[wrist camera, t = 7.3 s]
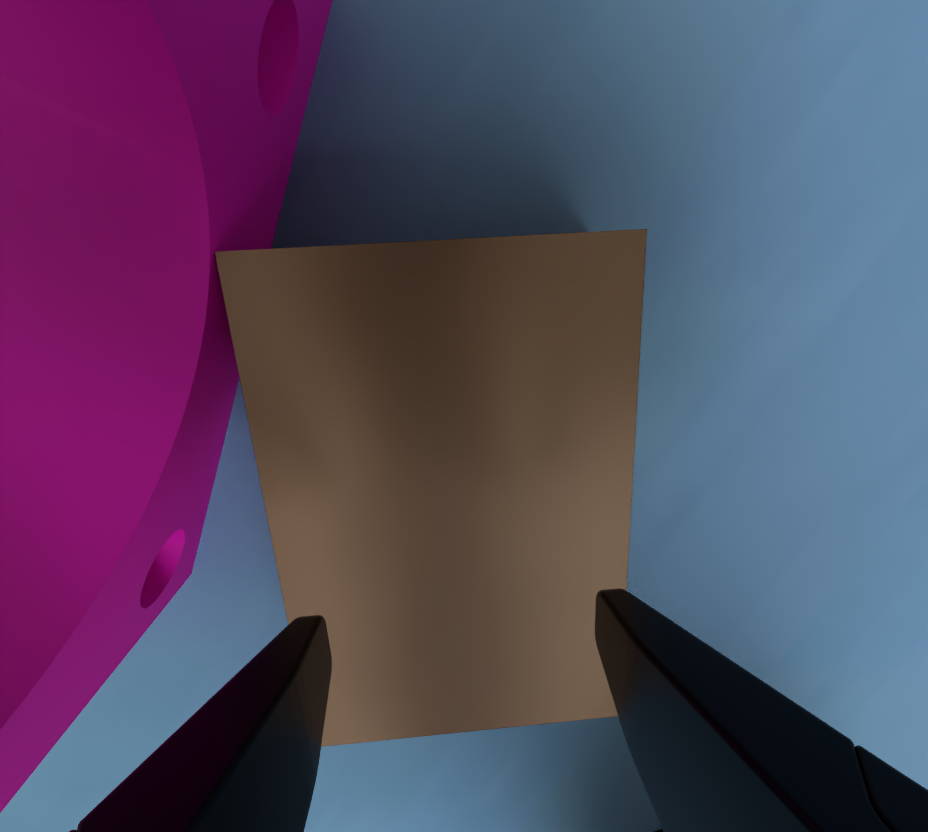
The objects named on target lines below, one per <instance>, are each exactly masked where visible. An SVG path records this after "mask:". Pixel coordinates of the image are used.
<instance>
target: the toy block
mask: <svg viewBox="0 0 928 832" xmlns="http://www.w3.org/2000/svg"><path fill="white" fill-rule="evenodd" d="M331 3H332V0H0V813H1V811H2V810H3V809H4V808H5V806H6V805H7V804H8V803H9V801H10V800H11V799H12V798H13V796H14V795H15V794H16V793H17V791H18V790H19V789H20V788H21V786H22V785H23V784H24V783H25V781H26V780H27V779H28V778H29V776H30V775H31V774H32V773H33V771H34V770H35V769H36V768H37V766H38V765H39V764H40V763H41V761H42V760H43V759H44V757H45V756H46V755H47V754H48V752H49V751H50V750H51V749H52V747H53V746H54V745H55V744H56V742H57V741H58V740H59V739H60V737H61V736H62V735H63V734H64V732H65V731H66V730H67V729H68V727H69V726H70V725H71V724H72V722H73V721H74V720H75V719H76V717H77V716H78V715H79V714H80V712H81V711H82V710H83V709H84V707H85V706H86V705H87V704H88V702H89V701H90V700H91V699H92V697H93V696H94V695H95V694H96V692H97V691H98V690H99V689H100V687H101V686H102V685H103V684H104V682H105V681H106V680H107V679H108V677H109V676H110V675H111V674H112V672H113V671H114V670H115V669H116V667H117V666H118V665H119V664H120V662H121V661H122V660H123V659H124V657H125V656H126V655H127V654H128V652H129V651H130V650H131V649H132V647H133V646H134V645H135V644H136V642H137V641H138V640H139V639H140V637H141V636H142V635H143V634H144V632H145V631H146V630H147V629H148V627H149V626H150V625H151V624H152V622H153V621H154V620H155V619H156V617H157V616H158V615H159V614H160V612H161V611H162V610H163V609H164V607H165V606H166V605H167V604H168V602H169V601H170V600H171V599H172V597H173V596H174V595H175V594H176V592H177V591H178V590H179V589H180V587H181V586H182V585H183V584H184V582H185V581H186V580H187V579H188V577H189V576H190V575H191V573H192V569H193V565H194V561H195V557H196V553H197V549H198V545H199V541H200V537H201V533H202V528H203V524H204V520H205V516H206V512H207V508H208V504H209V500H210V496H211V492H212V488H213V484H214V480H215V476H216V471H217V467H218V463H219V459H220V455H221V451H222V447H223V443H224V439H225V435H226V431H227V427H228V423H229V418H230V414H231V410H232V406H233V402H234V398H235V394H236V390H237V386H238V382H239V378H240V377H239V372H238V367H237V362H236V357H235V351H234V346H233V341H232V336H231V331H230V326H229V321H228V316H227V311H226V306H225V301H224V296H223V291H222V286H221V281H220V275H219V270H218V265H217V260H216V255H215V252H220V251H239V250H258V249H271V247H272V243H273V239H274V235H275V231H276V227H277V223H278V219H279V215H280V211H281V207H282V203H283V198H284V194H285V190H286V186H287V182H288V178H289V174H290V170H291V166H292V162H293V158H294V154H295V150H296V146H297V141H298V137H299V133H300V129H301V125H302V121H303V117H304V113H305V109H306V105H307V101H308V97H309V93H310V88H311V84H312V80H313V76H314V72H315V68H316V64H317V60H318V56H319V52H320V48H321V44H322V40H323V36H324V31H325V27H326V23H327V19H328V15H329V11H330V7H331Z"/></svg>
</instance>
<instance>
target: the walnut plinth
mask: <svg viewBox="0 0 928 832" xmlns="http://www.w3.org/2000/svg"><path fill="white" fill-rule="evenodd" d="M646 236H647V229H638V230H619V231H600V232H581V233H562V234H543V235H524V236H505V237H486V238H467V239H448V240H429V241H410V242H391V243H372V244H353V245H334V246H315V247H296V248H277V249H258V250H239V251H220V252H215V255H216V260H217V265H218V270H219V275H220V281H221V286H222V291H223V296H224V301H225V306H226V311H227V316H228V321H229V326H230V331H231V336H232V341H233V346H234V351H235V357H236V362H237V367H238V372H239V377H240V382H241V387H242V392H243V397H244V402H245V407H246V412H247V417H248V422H249V427H250V433H251V438H252V443H253V448H254V453H255V458H256V463H257V468H258V473H259V478H260V483H261V488H262V493H263V498H264V503H265V508H266V514H267V519H268V524H269V529H270V534H271V539H272V544H273V549H274V554H275V559H276V564H277V569H278V574H279V579H280V584H281V590H282V595H283V600H284V605H285V610H286V615H287V620H288V625H289V624H290V623H291V622H292V621H293V620H294V619H296V618H297V617H301V616H312V615H321V616H323V617H324V619H325V621H326V626H327V632H328V638H329V643H330V649H331V656H332V672H331V680H330V687H329V694H328V701H327V708H326V715H325V722H324V729H323V736H322V743H321V747H322V746H332V745H342V744H351V743H361V742H371V741H381V740H390V739H400V738H410V737H420V736H430V735H439V734H449V733H459V732H469V731H478V730H488V729H498V728H508V727H517V726H527V725H537V724H547V723H557V722H566V721H576V720H586V719H596V718H605V717H615V716H618V713H617V710H616V707H615V704H614V701H613V697H612V694H611V691H610V688H609V684H608V681H607V678H606V675H605V672H604V668H603V665H602V662H601V659H600V655H599V652H598V649H597V645H596V640H595V606H596V595H597V593H598V592H599V591H600V590H605V589H616V588H621V589H624V590H627V572H628V555H629V537H630V519H631V502H632V484H633V466H634V449H635V431H636V413H637V396H638V378H639V360H640V343H641V325H642V307H643V290H644V272H645V254H646Z"/></svg>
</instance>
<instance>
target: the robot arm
mask: <svg viewBox="0 0 928 832" xmlns="http://www.w3.org/2000/svg"><path fill="white" fill-rule="evenodd" d="M595 640H596V645H597V649H598V652H599V655H600V659H601V662H602V665H603V668H604V672H605V675H606V678H607V681H608V684H609V688H610V691H611V694H612V697H613V701H614V704H615V707H616V710H617V713H618V717H619V720H620V723H621V726H622V730H623V733H624V736H625V739H626V742H627V745H628V747H629V750H630V752H631V755H632V758H633V760H634V763H635V765H636V767H637V770H638V772H639V775H640V777H641V779H642V782H643V784H644V786H645V789H646V791H647V793H648V796H649V798H650V801H651V803H652V805H653V808H654V810H655V812H656V815H657V817H658V820H659V822H660V824H661V827H662V830H657V831H655V832H928V790H927V789H926V788H924V787H922V786H921V785H919V784H918V783H916V782H915V781H913V780H912V779H910V778H908V777H907V776H905V775H904V774H902V773H901V772H899V771H898V770H896V769H895V768H893V767H892V766H890V765H889V764H887V763H886V762H884V761H882V760H881V759H879V758H878V757H876V756H875V755H873V754H872V753H870V752H869V751H867V750H866V749H864V748H863V747H861V746H855V747H854V744H853V742H852V741H851V740H850V739H849V738H847V737H846V736H844V735H843V734H841V733H840V732H838V731H837V730H835V729H834V728H832V727H831V726H829V725H828V724H826V723H825V722H823V721H822V720H820V719H819V718H817V717H816V716H814V715H813V714H811V713H810V712H808V711H807V710H805V709H804V708H802V707H801V706H799V705H798V704H796V703H795V702H793V701H792V700H790V699H789V698H787V697H786V696H784V695H783V694H781V693H780V692H778V691H777V690H775V689H774V688H772V687H771V686H769V685H768V684H766V683H765V682H763V681H762V680H760V679H759V678H757V677H756V676H754V675H753V674H751V673H750V672H748V671H747V670H745V669H744V668H742V667H741V666H739V665H738V664H736V663H735V662H733V661H732V660H730V659H729V658H727V657H726V656H724V655H722V654H721V653H719V652H718V651H716V650H715V649H713V648H712V647H710V646H709V645H707V644H706V643H704V642H703V641H701V640H700V639H698V638H697V637H695V636H694V635H692V634H691V633H689V632H688V631H686V630H685V629H683V628H682V627H680V626H679V625H677V624H676V623H674V622H673V621H671V620H670V619H668V618H667V617H665V616H664V615H662V614H661V613H659V612H658V611H656V610H655V609H653V608H652V607H650V606H649V605H647V604H646V603H644V602H643V601H641V600H640V599H638V598H637V597H635V596H634V595H632V594H631V593H629V592H628V591H626V590H624V589H621V588H616V589H605V590H600V591H599V592H598V593H597V595H596V606H595ZM331 672H332V656H331V649H330V643H329V638H328V632H327V626H326V621H325V619H324V617H323V616H321V615H312V616H301V617H297V618H296V619H294V620H293V621H292V622H291V623H290V624H289V625H288V626H287V627H286V628H285V629H284V630H282V631H281V632H280V633H279V634H278V635H277V636H276V637H275V638H274V639H273V640H272V641H271V642H270V643H269V644H268V645H267V646H266V647H264V648H263V649H262V650H261V651H260V652H259V653H258V654H257V655H256V656H255V657H254V658H253V659H252V660H251V661H250V662H249V663H248V664H246V665H245V666H244V667H243V668H242V669H241V670H240V671H239V672H238V673H237V674H236V675H235V676H234V677H233V678H232V679H231V680H230V681H229V682H227V683H226V684H225V685H224V686H223V687H222V688H221V689H220V690H219V691H218V692H217V693H216V694H215V695H214V696H213V697H212V698H211V699H209V700H208V701H207V702H206V703H205V704H204V705H203V706H202V707H201V708H200V709H199V710H198V711H197V712H196V713H195V714H194V715H193V716H191V717H190V718H189V719H188V720H187V721H186V722H185V723H184V724H183V725H182V726H181V727H180V728H179V729H178V730H177V731H176V732H175V733H174V734H172V735H171V736H170V737H169V738H168V739H167V740H166V741H165V742H164V743H163V744H162V745H161V746H160V747H159V748H158V749H157V750H156V751H154V752H153V753H152V754H151V755H150V756H149V757H148V758H147V759H146V760H145V761H144V762H143V763H142V764H141V765H140V766H139V767H138V768H136V769H135V770H134V771H133V772H132V773H131V774H130V775H129V776H128V777H127V778H126V779H125V780H124V781H123V782H122V783H121V784H120V785H119V786H117V787H116V788H115V789H114V790H113V791H112V792H111V793H110V794H109V795H108V796H107V797H106V798H105V799H104V800H103V801H102V802H101V803H99V804H98V805H97V806H96V807H95V808H94V809H93V810H92V811H91V812H90V813H89V814H88V815H87V816H86V817H85V818H84V819H83V820H81V821H80V823H79V824H78V828H77V830H71V831H70V832H304V828H305V824H306V820H307V816H308V812H309V808H310V804H311V799H312V795H313V790H314V786H315V781H316V776H317V770H318V764H319V757H320V750H321V743H322V736H323V729H324V722H325V715H326V708H327V701H328V694H329V687H330V680H331Z"/></svg>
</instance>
